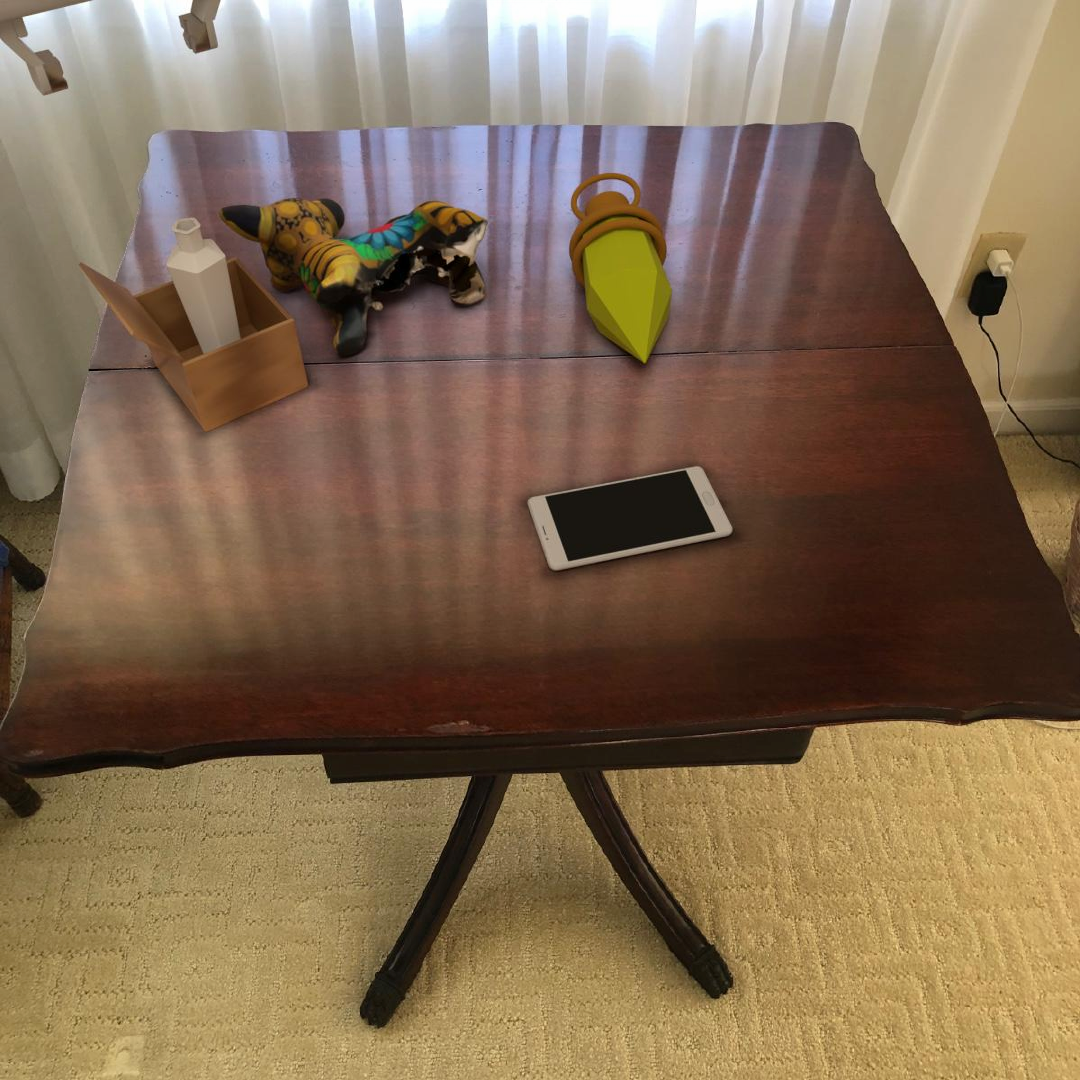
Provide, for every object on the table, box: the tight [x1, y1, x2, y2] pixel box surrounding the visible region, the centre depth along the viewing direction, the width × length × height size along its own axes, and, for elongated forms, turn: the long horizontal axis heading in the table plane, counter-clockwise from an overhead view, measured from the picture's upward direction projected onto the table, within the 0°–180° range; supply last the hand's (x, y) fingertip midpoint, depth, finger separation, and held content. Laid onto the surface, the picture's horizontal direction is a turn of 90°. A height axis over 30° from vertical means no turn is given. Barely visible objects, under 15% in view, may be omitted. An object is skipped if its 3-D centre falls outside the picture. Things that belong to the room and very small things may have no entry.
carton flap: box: [78, 262, 181, 361], centre depth 78 cm, size 5×11×1 cm
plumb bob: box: [568, 172, 673, 364], centre depth 93 cm, size 9×9×25 cm
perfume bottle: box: [165, 217, 241, 354], centre depth 82 cm, size 5×4×15 cm
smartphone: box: [527, 465, 733, 571], centre depth 78 cm, size 8×1×15 cm
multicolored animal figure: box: [218, 197, 488, 357], centre depth 93 cm, size 20×12×18 cm
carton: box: [132, 256, 309, 433], centre depth 86 cm, size 10×11×7 cm
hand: (129, 67), depth 60 cm, fingers open, 8 cm apart
